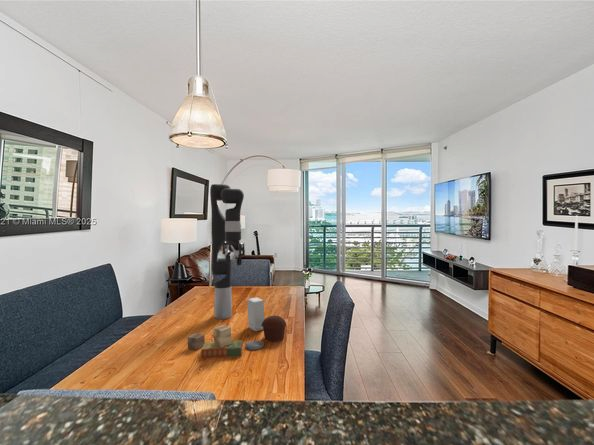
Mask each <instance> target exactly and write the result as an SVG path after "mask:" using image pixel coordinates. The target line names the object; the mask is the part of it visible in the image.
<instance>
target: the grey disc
mask: <svg viewBox="0 0 594 445" xmlns="http://www.w3.org/2000/svg"><path fill="white" fill-rule="evenodd" d="M264 345H265V344H264V342H263V341H262V340H261V341H260V340H251V341H247V342H246V343H245V348H244V349H246V350H248V351H258V350H262V349H263V348H264Z"/></svg>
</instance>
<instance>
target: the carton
mask: <svg viewBox="0 0 594 445" xmlns="http://www.w3.org/2000/svg"><path fill="white" fill-rule="evenodd" d="M242 354H243V340H231V344H230V345H227V346H224V347H222V348H221V347H218V346H216V345H214V341H206V342H205V343H204V345H203V347H202V348H201V353H200V358H201V359H215V358H216V359H217V358H233V357H234V358H235V357H237V358H238V357H242V356H243V355H242Z"/></svg>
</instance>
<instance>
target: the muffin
mask: <svg viewBox="0 0 594 445" xmlns="http://www.w3.org/2000/svg"><path fill="white" fill-rule="evenodd" d="M261 326H262V327H263V330H262V331H263V336H264V340H265V341H267V342H272V343H273V342H274V343H276V342H281V341H282V340H283V339H284V338H285V330H286V326H287V322H286V320H285V319H284V318H283V317H281V316H279V315H270V316H268V317H266V318H265V319H264V321H263V322H262V324H261Z"/></svg>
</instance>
